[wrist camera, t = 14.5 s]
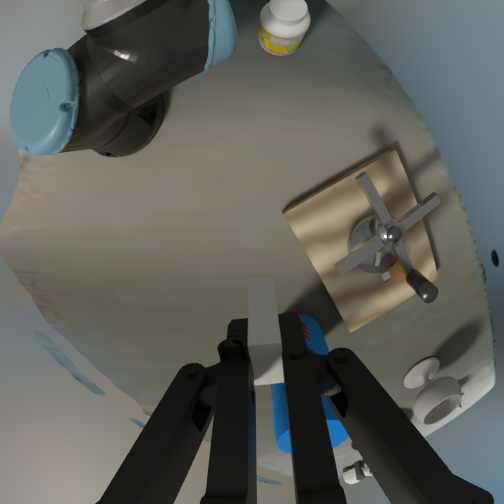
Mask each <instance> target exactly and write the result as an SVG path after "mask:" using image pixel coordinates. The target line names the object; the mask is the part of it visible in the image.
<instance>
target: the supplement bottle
mask: <svg viewBox="0 0 504 504" xmlns="http://www.w3.org/2000/svg"><path fill="white" fill-rule="evenodd" d="M307 10H308V7H307V4H306V2H305V1H304V0H270V2H269V3H267V4H266V5H265V6H264V7H263V8H262V10H261V13H260V24H259V42H260V44H261V46H262V47H263V48H264V49H265V50H266V51H267V52H269V53H271V54H274V55H280V56H283V55H289V54H291V53H293V52H294V51H296V50H297V49H298V47H299V45H300V43H301V41H302V39H303V37H304V35H305V33H306V31H307V30H308V28H309V25H310V14H309V12H308V11H307Z"/></svg>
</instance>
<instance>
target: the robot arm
mask: <svg viewBox="0 0 504 504" xmlns="http://www.w3.org/2000/svg"><path fill="white" fill-rule="evenodd" d="M80 1H81V2H82V4H83V5H84V12H83V16H82V20H81V27H82V29H83V30H84V31H85V32H86V33H87V34H86V35H85V36H83V37H82V38H81V39H80V40H79V41H77V42H76V43H75V44H74V45H72V46H71V47H70V48H69V49H67V50H65V49H62V48H55V49H53V50H45V51H43V52H41V53H39V54H38V55H37V56H35V57H34V58H33V59H32V60H31V61H30V62H29V63H28V64H27V66H26V67H25V68H24V70H23V71H22V73H21V75H20V77H19V79H18V81H17V83H16V86H15V89H14V92H13V97H12V102H11V108H10V120H11V127H12V131H13V135H14V137H15V139H16V141H17V143H18V144H19V146H20V147H21V148H22V149H23V150H25V151H26V152H29V153H31V154H35V155H55V154H58V153H62V152H69V151H77V150H86V149H92V150H93V151H95V152H97V153H99V154H101V155H103V156H107V157H123V156H128V155H131V154H134V153H136V152H138V151H140V150H141V149H143V148H144V147H145V146H146V145H147V144H148V143H149V142H150V141H151V140H152V139H153V138H154V136H155V135H156V133H157V132H158V130H159V128H160V125H161V123H162V119H163V115H164V99H163V95H162V92H164V91H166V90H168V89H170V88H171V87H173V86H175V85H177V84H179V83H181V82H183V81H185V80H187V79H188V78H190V77H192V76H194V75H196V74H202V73H205V72H206V71H207V70H208V69H209V68H211V67H213V66H215V65H217V64H219V63H221V62H223V61H225V60H227V59H228V58H230V57H231V56H232V54H233V53H234V51H235V50H236V47H237V29H236V24H235V19H234V15H233V11H232V8H231V5H230V2H229V0H80ZM227 332H228V333H227V339H226V340H224V341H222V342H221V343H220V344H219V345H218V348H217V349H218V352H219V356H220V360H221V361H220V362H219V363H217V364H216V365H213V366H210V367H206V368H205V367H204V366H203V365H201V364H198V363H190V364H187V365H185V366H183V367H182V368H181V369H180V370H179V371H178V373H177V375H176V376H175V378H174V380H173V381H172V383H171V384H170V386H169V388H168V389H167V391H166V393H165V394H164V396H163V398H162V399H161V401H160V402H159V404H158V406H157V407H156V409H155V411H154V412H153V414H152V415H151V417H150V419H149V420H148V422H147V424H146V425H145V427H144V429H143V430H142V432H141V433H140V435H139V437H138V438H137V440H136V442H135V443H134V445H133V447H132V448H131V450H130V452H129V453H128V455H127V456H126V458H125V460H124V461H123V463H122V464H121V466H120V468H119V469H118V471H117V473H116V474H115V476H114V478H113V479H112V481H111V483H110V484H109V486H108V487H107V489H106V491H105V492H104V494H103V496H102V497H101V499H100V500H99V501H98V502H97V503H96V504H173V503H174V501H175V499H176V497H177V495H178V493H179V491H180V489H181V487H182V484H183V482H184V480H185V478H186V476H187V473H188V471H189V469H190V467H191V465H192V462H193V460H194V458H195V456H196V454H197V451H198V449H199V447H200V445H201V442H202V440H203V438H204V436H205V433H206V431H207V429H208V427H209V424H210V422H211V420H212V417H213V415H214V421H213V430H212V439H211V448H210V458H209V467H208V476H207V487H206V493H205V495H204V496H203V497H202V499H201V501H200V504H257V485H256V484H257V476H256V404H255V389H254V384H255V385H264V384H274V383H284V387H285V400H286V406H287V416H288V425H289V435H290V445H291V455H292V465H293V476H294V486H295V498H296V504H347V503H346V498H345V493H344V490H343V488H342V487H341V485H340V483H339V479H338V474H337V468H336V463H335V459H334V454H333V449H332V444H331V439H330V435H329V430H328V425H327V421H326V416H325V412H324V407H323V403H322V398H321V395H325V397H326V399H327V401H328V402H329V404H330V406H331V407H332V409H333V411H334V412H335V414H336V415H337V417H338V419H339V420H340V422H341V424H342V425H343V427H344V429H345V430H346V432H347V433H348V435H349V437H350V438H351V440H352V442H353V443H354V445H355V446H356V448H357V450H358V451H359V453H360V455H361V456H362V458H363V459H364V461H365V463H366V464H367V466H368V467H369V469H370V471H371V472H372V474H373V475H374V477H375V479H376V480H377V482H378V483H379V485H380V487H381V488H382V490H383V491H384V493H385V495H386V496H387V498H388V499H389V501H390V503H391V504H494V499H493V497H492V494H490V493H489V492H488V491H486V490H484V489H482V488H480V487H477V486H476V485H473V484H472V483H470V482H467V481H465V480H464V479H462V478H460V477H458V476H456V475H454V474H452V472H451V471H450V470H449V469H448V467H447V466H446V465H445V464H444V462H443V461H442V460H441V458H440V457H439V456H438V455H437V454H436V452H435V451H434V450H433V448H432V447H431V446H430V445H429V444H428V442H427V441H426V440H425V438H424V437H423V436H422V435H421V433H420V432H419V431H418V430H417V429H416V427H415V426H414V425H413V424H412V422H411V421H410V420H409V419H408V417H407V416H406V415H405V414H404V413H403V411H402V410H401V409H400V408H399V406H398V405H397V404H396V403H395V402H394V400H393V399H392V398H391V397H390V395H389V394H388V393H387V392H386V391H385V389H384V388H383V387H382V386H381V385H380V383H379V382H378V381H377V380H376V379H375V377H374V376H373V375H372V374H371V372H370V371H369V370H368V369H367V368H366V366H365V365H364V364H363V363H362V362H361V360H360V359H359V358H358V357H357V356H356V354H355V353H354V352H353V351H351V350H350V349H347V348H336V349H333V350H332V351H330V352H329V353H328V355H321V354H316V353H314V352H312V351H310V350H309V348H308V347H307V344H306V340H305V336H304V332H303V328H302V324H301V320H300V317H299V316H298V315H297V314H296V313H295V312H294V313H286V314H278V313H277V306H276V299H275V292H274V285H273V278H272V276H271V277H262V278H253V279H249V301H248V318H245V319H234V320H232V321H231V322H230V324H229V325H228V331H227Z"/></svg>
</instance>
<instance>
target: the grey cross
mask: <svg viewBox="0 0 504 504" xmlns="http://www.w3.org/2000/svg"><path fill="white" fill-rule="evenodd" d="M355 180H356V181H357V183H358V185H359V186H360V188H361V190H362V191H363V193H364V195H365V197H366V198H367V200H368V202H369V204H370V206H371V207H372V209H373V211H374V213H373V214H369V215H366V216H364V217H363V218H361V219H360V220H359V221H358V222H357V223H356V224H355V225H354V227H353V228H352V230H351V232H350V234H349V238H348V252H349V255H347V256H346V257H344V258H343V259H341V260H340V261H338V262H337V263H335V264H334V265H335V266H336V268H337V269H338V271H339V273H340V274H341V276H343V275H344V274H346V273H347V272H349V271H350V270H352V269H353V268H354V267H356V266H358V267H359V268H360V269H361V270H362V271H364V272H367V273H380V272H383V271H386V270H387V269H389V268H390V267H392V266H393V265H394V264H395V263H396V262H397V260H398V261H399V263H400V265H401V268H402V270H403V272H404V274H405V277H406V282H407V284H408V285H409V286H410V287H411V288H412V289H413V290H414V291H415V292H416V293H417V294H418V295H419V296H420V297H421V299H422V300H423V301H424V302H425V303H431V302H433V301H434V300H435V299H436V297H437V295H438V289H437V287H436V286H434V285H433V284H432V283H431V282H430V281H429V280H428V279H427V278H426V277H425V276H424V275H422V274H421V273H420V272H419V271H418V270H416V269H414V267H413V265H412V262H411V260H410V257H409V255H408V253H407V251H406V248H405V246H404V238H405V234H406V230H407V229H408V228H410V227H411V226H412V225H413V224H415V223H416V222H417V221H419V220H420V219H421V218H422V217H424V216H425V215H426V214H428V213H429V212H430V211H431V210H433V209H434V208H435V207H436V206H437V205H439V204H440V203H441V201H440V198H439V196H438V194H437V193H434V192H432V193H431V194H430V195H429V196H427V197H426V198H425V199H424V200H422V201H421V202H420V203H418V204H417V205H416V206H414V207H413V208H412V209H411V210H409V211H408V212H407V213H405V214H404V215H403V216H401V217H400V218H399V219H396V218H395V217H393V216H391V215H390V214H389V212H388V210H387V208H386V207H385V205H384V203H383V201H382V199H381V197H380V195H379V193H378V191H377V190H376V188H375V186H374V184H373V182H372V181H371V179H370V177H369V175H368V174H367V173H366V172H362V173H361V174H359V175H358V176H356V177H355Z"/></svg>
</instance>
